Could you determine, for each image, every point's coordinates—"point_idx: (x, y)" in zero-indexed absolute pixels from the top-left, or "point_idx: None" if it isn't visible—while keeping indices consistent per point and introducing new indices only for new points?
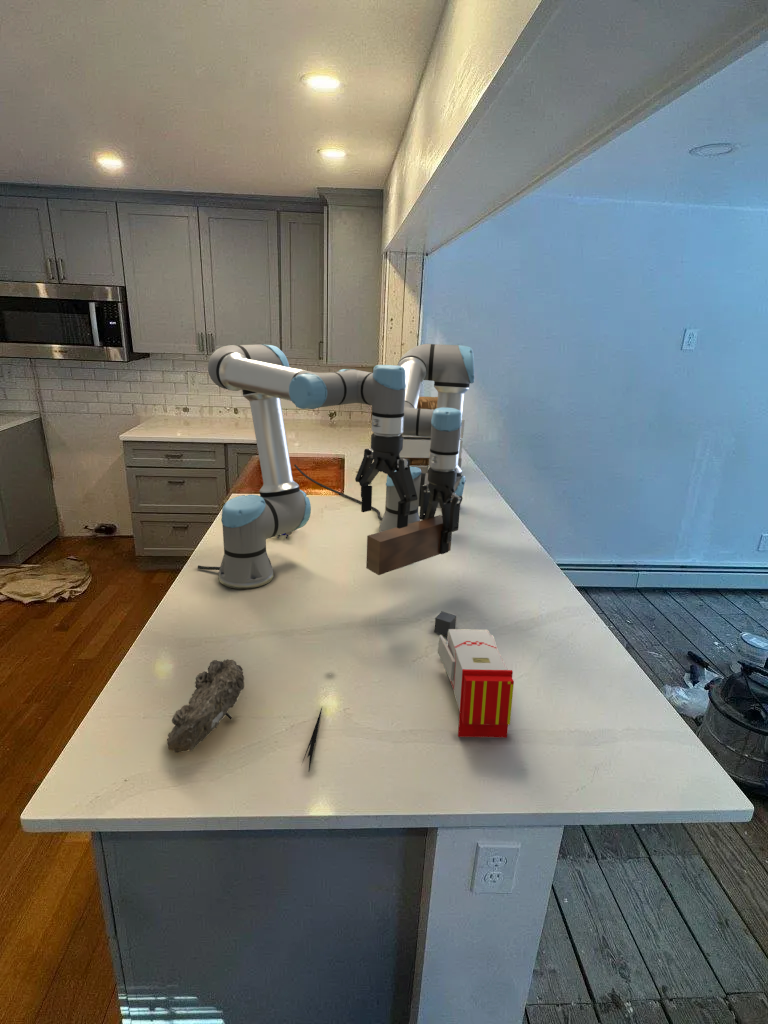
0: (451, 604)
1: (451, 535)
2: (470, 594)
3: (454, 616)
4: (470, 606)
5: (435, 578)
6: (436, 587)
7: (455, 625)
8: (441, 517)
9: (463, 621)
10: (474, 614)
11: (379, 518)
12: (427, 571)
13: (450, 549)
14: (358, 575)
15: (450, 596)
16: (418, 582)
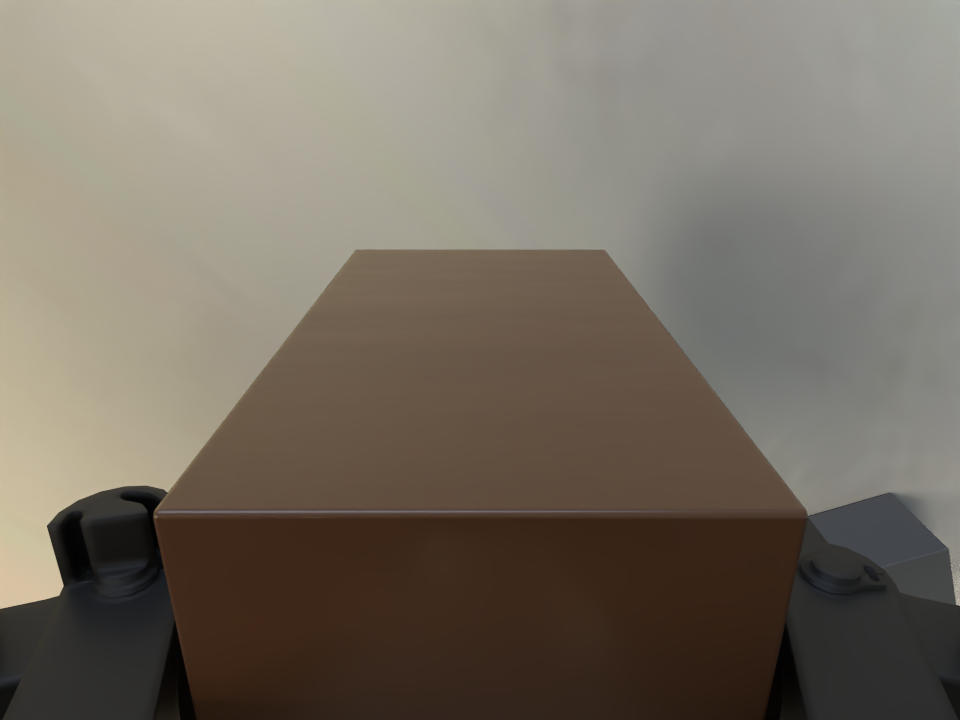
0: (702, 303)
1: (660, 330)
2: (711, 66)
3: (944, 565)
4: (814, 217)
5: (343, 93)
6: (464, 205)
7: (908, 511)
8: (377, 625)
9: (881, 396)
10: (892, 278)
11: None
12: (202, 49)
13: (607, 254)
14: (41, 507)
15: (625, 223)
16: (326, 258)
